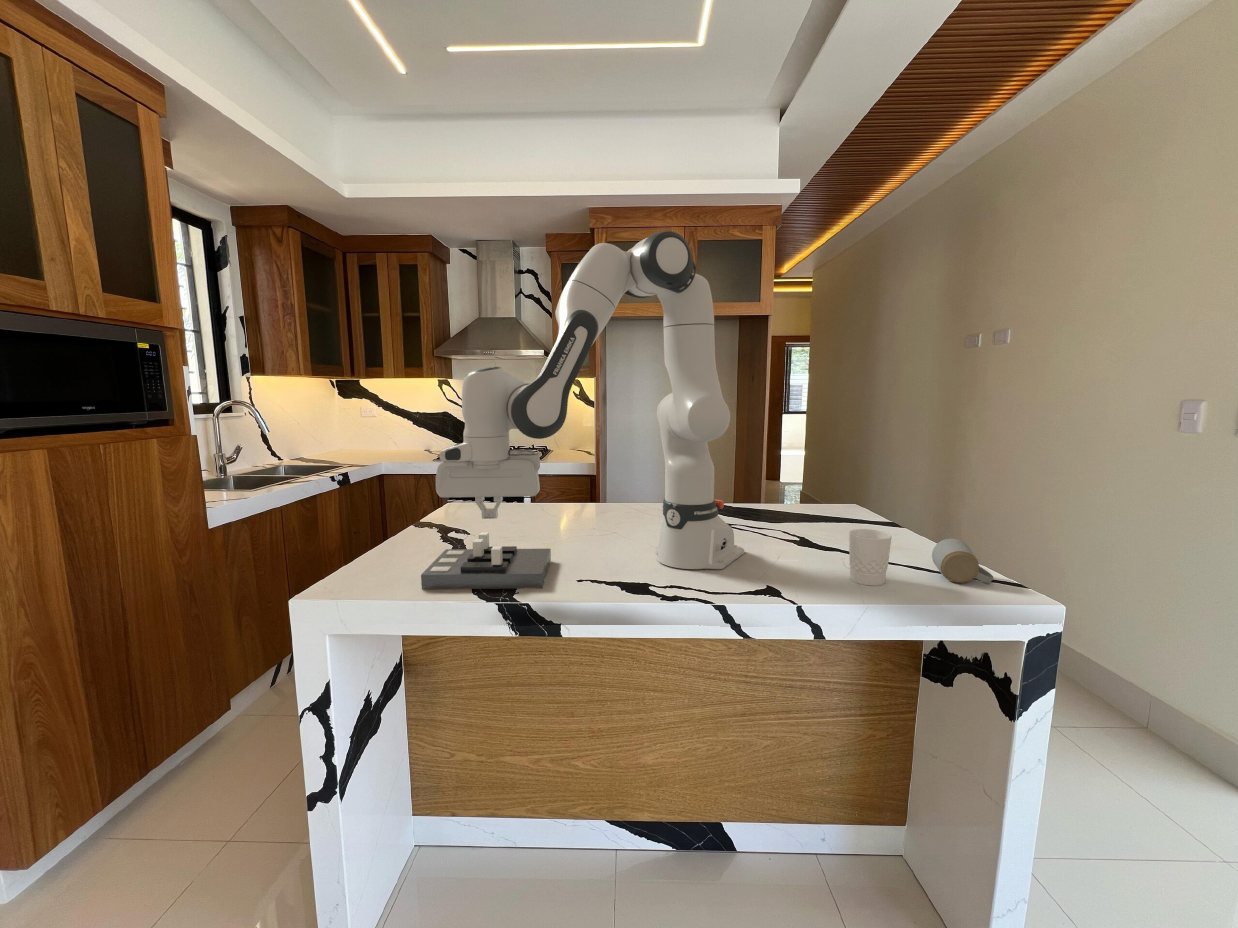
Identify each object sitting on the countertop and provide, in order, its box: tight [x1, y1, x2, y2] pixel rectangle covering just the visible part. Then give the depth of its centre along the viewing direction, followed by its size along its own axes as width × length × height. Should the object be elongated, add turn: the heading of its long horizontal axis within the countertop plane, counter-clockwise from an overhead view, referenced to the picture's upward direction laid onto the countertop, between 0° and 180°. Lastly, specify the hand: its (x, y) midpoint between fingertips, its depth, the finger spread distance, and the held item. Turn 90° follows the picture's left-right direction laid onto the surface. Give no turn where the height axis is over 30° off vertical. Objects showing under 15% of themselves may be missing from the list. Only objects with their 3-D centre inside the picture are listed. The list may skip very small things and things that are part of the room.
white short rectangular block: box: [478, 531, 490, 549], centre depth 123 cm, size 2×2×3 cm
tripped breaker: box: [491, 545, 503, 565], centre depth 113 cm, size 2×2×3 cm
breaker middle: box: [472, 538, 484, 557], centre depth 118 cm, size 2×2×3 cm
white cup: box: [848, 528, 893, 587], centre depth 114 cm, size 8×8×10 cm
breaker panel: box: [420, 545, 552, 590], centre depth 119 cm, size 24×17×4 cm
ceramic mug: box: [931, 538, 995, 585], centre depth 115 cm, size 11×8×8 cm
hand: (489, 518), depth 111 cm, fingers closed
